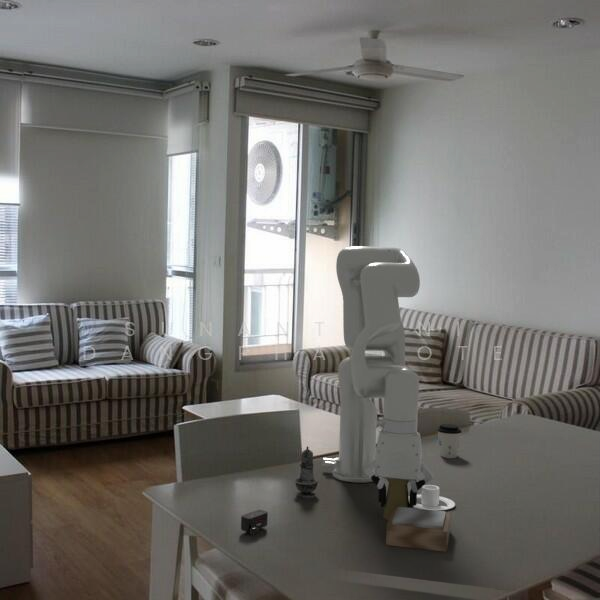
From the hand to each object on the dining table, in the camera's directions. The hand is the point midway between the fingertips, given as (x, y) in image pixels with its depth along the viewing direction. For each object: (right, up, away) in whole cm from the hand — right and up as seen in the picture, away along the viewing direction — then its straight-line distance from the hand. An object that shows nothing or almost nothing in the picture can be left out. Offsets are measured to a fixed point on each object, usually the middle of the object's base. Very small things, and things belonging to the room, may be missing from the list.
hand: (397, 505), depth 177 cm
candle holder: (+9, -3, +11) cm, 14 cm away
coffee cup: (+21, -1, +53) cm, 57 cm away
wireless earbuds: (-31, -3, -10) cm, 33 cm away
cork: (0, -3, 0) cm, 3 cm away
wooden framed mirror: (+3, -3, -13) cm, 14 cm away
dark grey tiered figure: (-20, -1, +14) cm, 25 cm away
